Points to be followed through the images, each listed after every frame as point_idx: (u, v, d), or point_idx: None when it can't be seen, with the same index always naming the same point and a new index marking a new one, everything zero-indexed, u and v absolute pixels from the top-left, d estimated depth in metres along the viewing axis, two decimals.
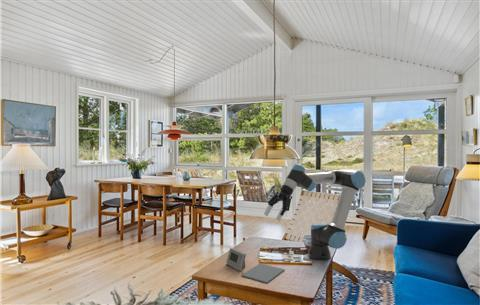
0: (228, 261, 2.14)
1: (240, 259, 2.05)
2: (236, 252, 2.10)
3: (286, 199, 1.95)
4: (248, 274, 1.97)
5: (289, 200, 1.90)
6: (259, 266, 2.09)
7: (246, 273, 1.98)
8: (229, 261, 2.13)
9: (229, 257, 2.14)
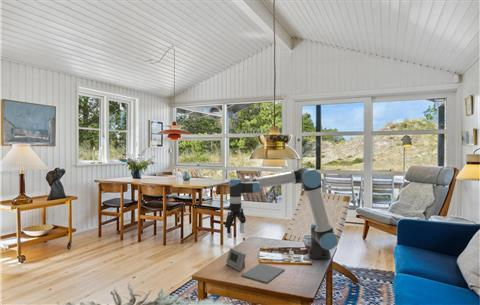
0: (228, 261, 2.14)
1: (240, 259, 2.05)
2: (236, 252, 2.10)
3: (234, 215, 2.07)
4: (248, 274, 1.97)
5: (228, 217, 2.03)
6: (259, 266, 2.09)
7: (246, 273, 1.98)
8: (229, 261, 2.13)
9: (229, 257, 2.14)
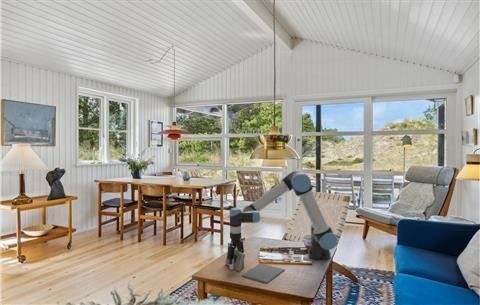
0: (227, 261, 2.13)
1: (239, 259, 2.05)
2: (235, 252, 2.10)
3: None
4: (248, 274, 1.97)
5: (229, 248, 2.05)
6: (259, 266, 2.09)
7: (246, 273, 1.98)
8: (228, 261, 2.12)
9: None
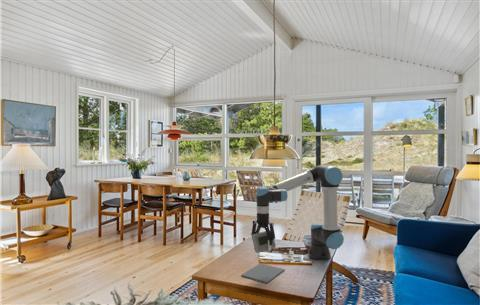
0: (259, 248, 1.94)
1: None
2: (264, 234, 1.99)
3: None
4: (248, 274, 1.97)
5: (272, 228, 1.95)
6: (259, 266, 2.09)
7: (246, 273, 1.98)
8: (261, 247, 1.95)
9: (258, 244, 1.95)
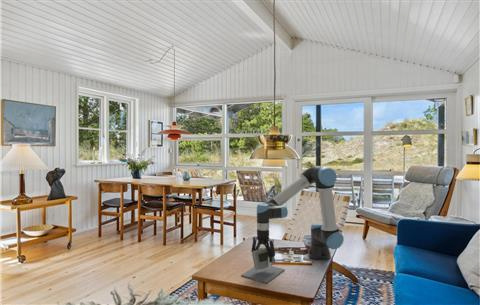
0: (259, 265, 1.95)
1: None
2: (264, 250, 2.00)
3: None
4: (248, 274, 1.97)
5: (272, 245, 1.96)
6: None
7: (246, 273, 1.98)
8: (261, 264, 1.95)
9: (258, 260, 1.95)
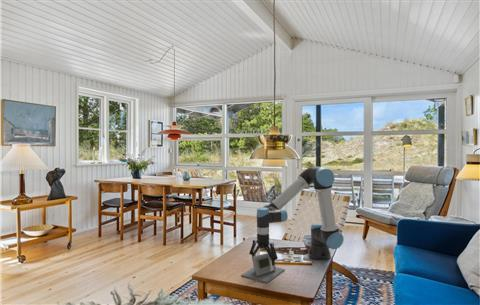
0: (260, 271, 1.95)
1: None
2: (264, 256, 2.00)
3: None
4: (248, 274, 1.97)
5: (273, 248, 1.96)
6: None
7: (246, 273, 1.98)
8: (261, 270, 1.95)
9: (259, 267, 1.95)
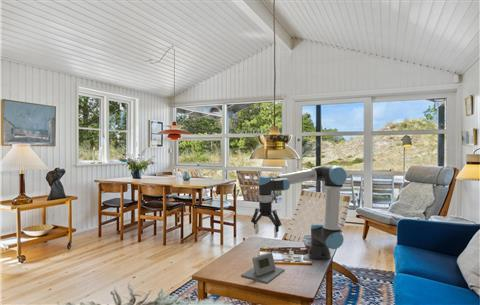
0: (260, 271, 1.95)
1: (272, 259, 2.03)
2: (264, 256, 2.00)
3: (270, 213, 2.00)
4: (248, 274, 1.97)
5: (276, 215, 1.96)
6: None
7: (246, 273, 1.98)
8: (261, 270, 1.95)
9: (259, 267, 1.95)
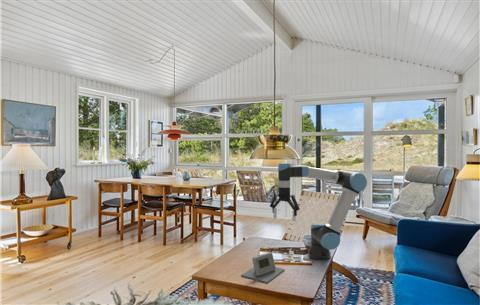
0: (260, 271, 1.95)
1: (272, 259, 2.03)
2: (264, 256, 2.00)
3: None
4: (248, 274, 1.97)
5: (295, 200, 2.05)
6: None
7: (246, 273, 1.98)
8: (261, 270, 1.95)
9: (259, 267, 1.95)
